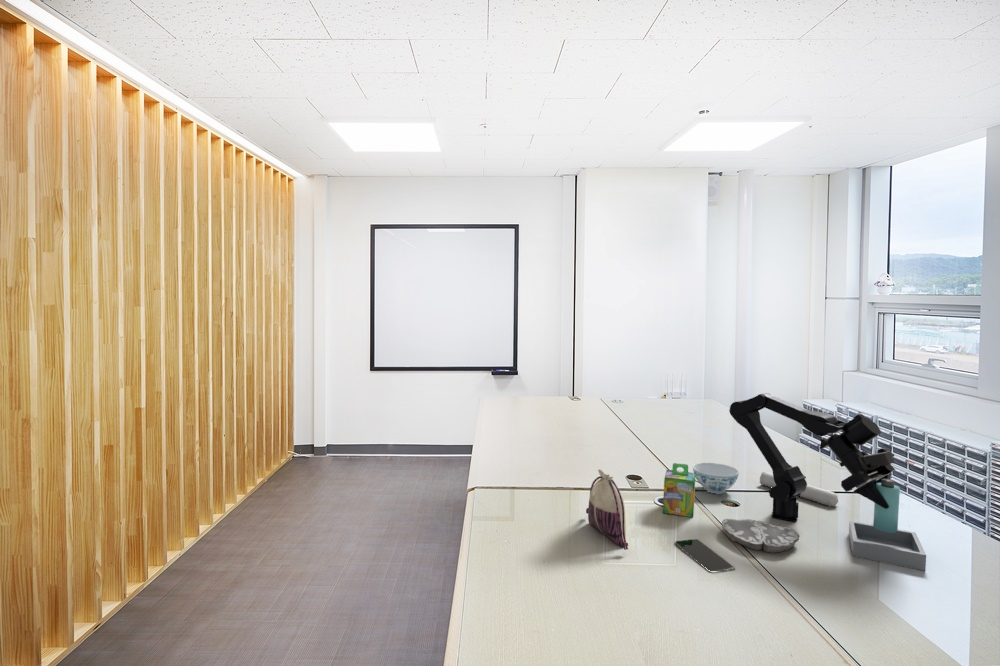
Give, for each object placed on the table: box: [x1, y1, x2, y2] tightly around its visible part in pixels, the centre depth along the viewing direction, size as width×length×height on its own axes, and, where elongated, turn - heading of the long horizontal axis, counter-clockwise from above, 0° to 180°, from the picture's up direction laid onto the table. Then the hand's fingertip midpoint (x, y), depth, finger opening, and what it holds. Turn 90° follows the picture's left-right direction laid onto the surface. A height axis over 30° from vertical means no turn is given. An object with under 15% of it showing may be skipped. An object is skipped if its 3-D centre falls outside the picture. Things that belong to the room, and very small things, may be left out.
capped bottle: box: [872, 478, 901, 533], centre depth 139 cm, size 5×5×13 cm
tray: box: [848, 520, 927, 571], centre depth 140 cm, size 15×15×4 cm
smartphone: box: [674, 538, 736, 572], centre depth 137 cm, size 7×1×16 cm
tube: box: [759, 470, 839, 507], centre depth 181 cm, size 5×5×25 cm
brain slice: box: [721, 518, 801, 553], centre depth 145 cm, size 20×17×3 cm
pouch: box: [585, 468, 629, 550], centre depth 149 cm, size 25×8×19 cm, turn 22°
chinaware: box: [692, 462, 740, 495], centre depth 185 cm, size 15×15×8 cm
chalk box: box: [662, 462, 696, 518], centre depth 166 cm, size 9×9×15 cm
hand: (892, 505), depth 138 cm, fingers closed on capped bottle, 5 cm apart
